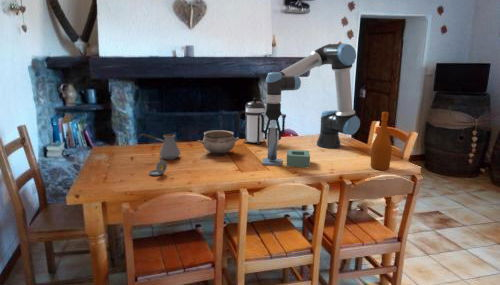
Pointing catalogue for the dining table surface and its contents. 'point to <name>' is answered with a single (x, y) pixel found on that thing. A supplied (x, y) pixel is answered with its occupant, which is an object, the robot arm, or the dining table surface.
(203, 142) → the cooking pot
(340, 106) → the robot arm
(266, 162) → the slate mat
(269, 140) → the metal peg
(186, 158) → the dining table surface
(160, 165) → the pocket watch
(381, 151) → the wine bottle
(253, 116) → the coffee press
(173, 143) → the coffee pot
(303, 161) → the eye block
